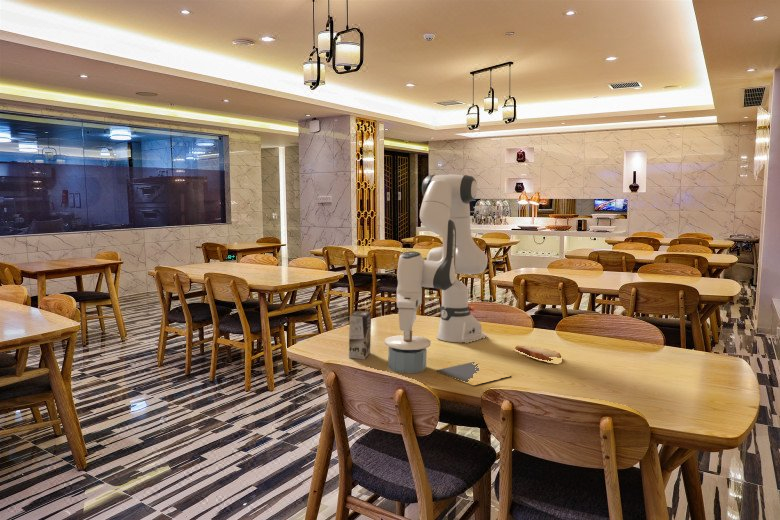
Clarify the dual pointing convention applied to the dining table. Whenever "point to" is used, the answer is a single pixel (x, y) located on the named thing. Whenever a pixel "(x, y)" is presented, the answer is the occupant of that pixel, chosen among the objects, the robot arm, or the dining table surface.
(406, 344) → the lid
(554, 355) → the bread slice
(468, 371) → the mat
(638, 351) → the dining table surface
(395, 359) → the bowl
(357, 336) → the coffee box
